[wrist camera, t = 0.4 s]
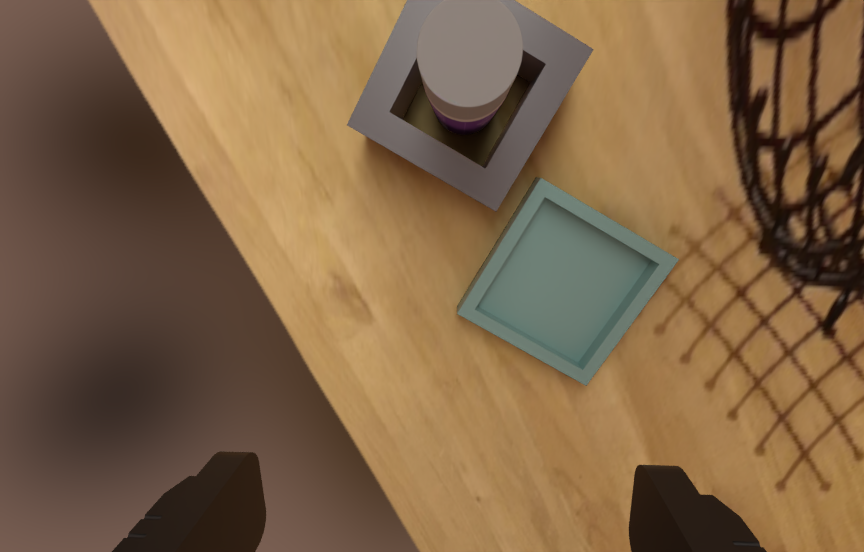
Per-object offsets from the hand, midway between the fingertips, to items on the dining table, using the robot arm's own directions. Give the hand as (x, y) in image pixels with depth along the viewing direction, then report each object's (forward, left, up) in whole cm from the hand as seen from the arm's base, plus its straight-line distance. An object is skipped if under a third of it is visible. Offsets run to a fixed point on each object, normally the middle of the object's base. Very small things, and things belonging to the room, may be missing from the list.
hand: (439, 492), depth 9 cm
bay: (-10, -5, -27) cm, 29 cm away
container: (-10, -5, -27) cm, 30 cm away
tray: (-2, +8, -27) cm, 29 cm away
